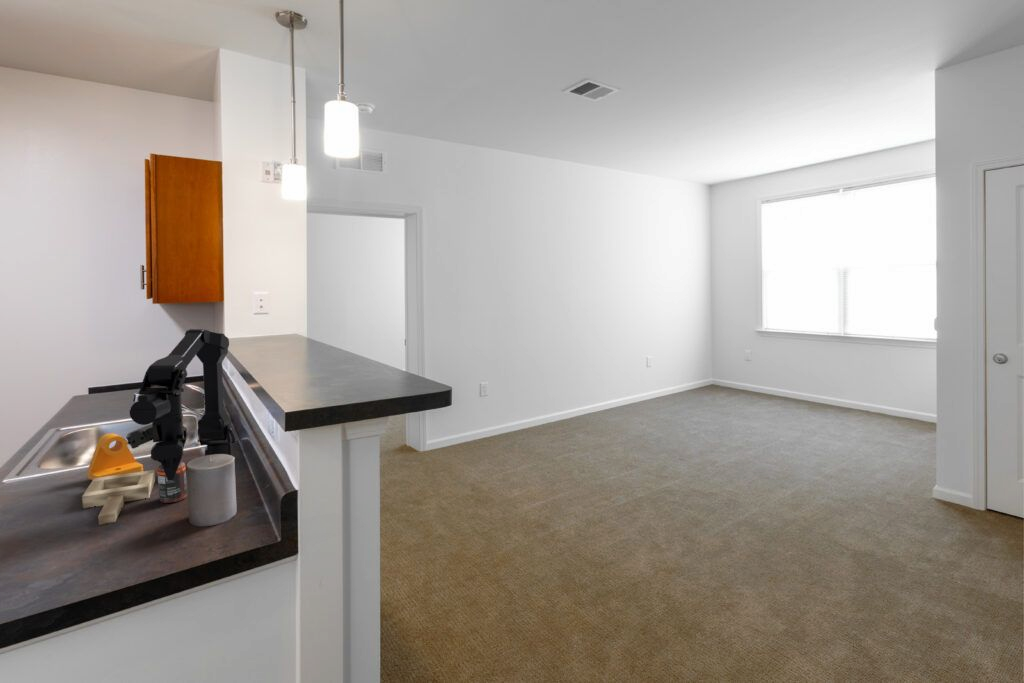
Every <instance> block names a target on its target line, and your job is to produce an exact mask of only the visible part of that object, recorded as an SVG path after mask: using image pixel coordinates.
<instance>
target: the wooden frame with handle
mask: <svg viewBox="0 0 1024 683" xmlns="http://www.w3.org/2000/svg"><path fill="white" fill-rule="evenodd" d="M155 482H156V475H155V469H151V470H145V471H144V470H143V472H136V473H128V474H121V475H114V476H107V477H100V478H94V479H93V481H92V480H91V482H90V484H89V486H87V488H86V489H85V492H84V493H83V494H82V496H81V497H82V498H81V500H82V509H89V507H90V508H95V507H94V506H96V507H101V506H102V509H101V510H100V512H99V514H98V516H97V517H98V521H97V522H98V525H99V526H100V525H106V523H107V524H113V523H116V522H117V520H118V517H119V515H120V513H121V510H122V509H123V507H124V504H125V503H126V501H127V502H132V501H139V500H145V498H146V499H150V496H151V494H152V491H153V488H154V484H155ZM121 508H122V509H121Z"/></svg>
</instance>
